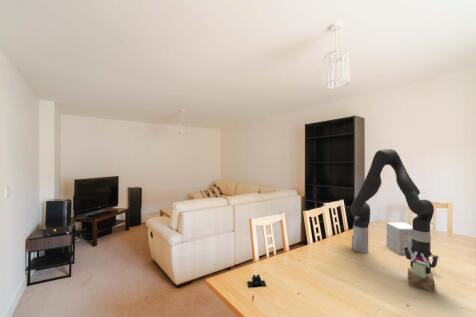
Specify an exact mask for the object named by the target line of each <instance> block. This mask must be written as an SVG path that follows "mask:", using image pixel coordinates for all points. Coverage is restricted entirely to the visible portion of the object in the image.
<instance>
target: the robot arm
mask: <svg viewBox="0 0 476 317" xmlns="http://www.w3.org/2000/svg"><path fill="white" fill-rule="evenodd" d="M385 166H390V167H391V168H392V169H393V171H394V174H395V178H396V179H395V180H396V184H397V186H398V188H399V190H400V191H401V193H402V194H403V195H404V197H405V201H406V204H407V207H408V208H409V210H410V211H411V213H413V214H415V215H416V216H415V217H414V218H413V219H412V226H413V229H412V247H411V248H410V247H408V246H407V247H405V248H404V249H405V254H406V255H405V258H406V259H407V260H409V262H410V268H411V269H413V262H415V261H414V260H415V259H416V258H420V259H423V260H424V262H425V263H426V266H427V267H426V274H430V273H432V269H433V268H436V267H437V264H438V261H439V258H440V257H439V255H435V254H433V253H432V252H431V249H432V248H431V245H432V244H431V243H432V242H431V240H432V236H431V221H432V219H433V216H434V214H435V213H434V212H435V208H434V204H433V203H432V202H431V201H430V200H428V199H420V198H419V195H420V193H421V192H420V189H419V188H418V186H417V185H416V183H415V182H414V181H413V180H412V178H411V177H410V175H409V173H408V171H407V169H406V167H405V165H404V163H403V161H402V159H401V157H400V155H399V153H398V152H397V151H396V150H395V149H391V148H387V149H379V150H377V151H376V152H375V154H374V156H373V158H372V162H371V165H370V168H369V169H368V172H367V174H366V177H365V179H364V180H363V182H362V185H361V187H360V189H359V191H358V193H357V195H356V196H355V198H354V200H353V201H352V203H351V204H350V213H351V215H352V216H354V217H356V219H354V220H353V221H352V225H353V226H352V231H353V232H352V235H351V250H353V251H354V252H356V253H359V254H368V253H369V226H370V223H371V222H370V221H371V207H370V205H369V203H367V201H369V200H370V199H371V198H373V197H375V195H377V193H378V191H379V190H380V188H381V185H382V178H381V173H382V172H383V169H384V168H385ZM357 217H358V218H357ZM410 251H412V252H413V255H412V256H411V255H410ZM430 257H431V259H430ZM431 260H432V263H431Z"/></svg>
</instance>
